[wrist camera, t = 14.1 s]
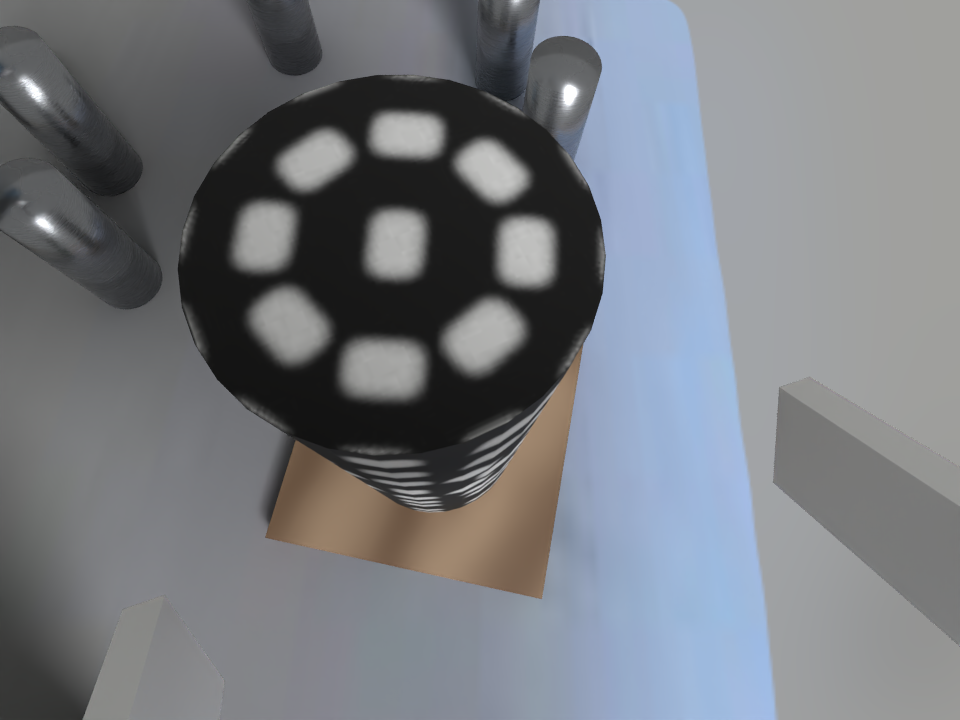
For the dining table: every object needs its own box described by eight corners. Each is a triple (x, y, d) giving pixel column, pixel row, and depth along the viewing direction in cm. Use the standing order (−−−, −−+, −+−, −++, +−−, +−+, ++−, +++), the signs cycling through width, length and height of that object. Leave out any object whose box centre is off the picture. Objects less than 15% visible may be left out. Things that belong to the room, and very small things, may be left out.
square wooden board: (274, 537, 30) (265, 537, 28) (348, 297, 34) (343, 286, 33) (537, 596, 29) (541, 599, 28) (578, 345, 34) (584, 336, 32)
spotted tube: (364, 352, 31) (221, 62, 12) (515, 361, 32) (601, 87, 13) (347, 508, 29) (133, 443, 10) (511, 516, 29) (610, 467, 10)
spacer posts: (23, 288, 33) (-126, 200, 25) (171, -7, 41) (95, -153, 32) (527, 395, 33) (552, 342, 24) (587, 75, 40) (623, -53, 31)
